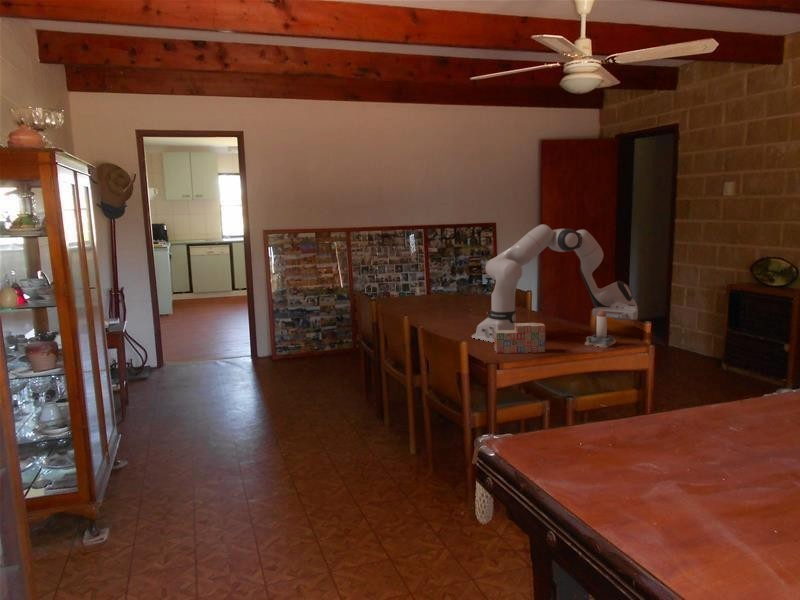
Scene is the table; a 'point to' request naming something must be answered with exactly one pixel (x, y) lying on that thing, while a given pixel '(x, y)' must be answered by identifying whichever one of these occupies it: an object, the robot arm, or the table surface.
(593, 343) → the jig
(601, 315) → the fuselage
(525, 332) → the stack of blocks
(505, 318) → the robot arm
